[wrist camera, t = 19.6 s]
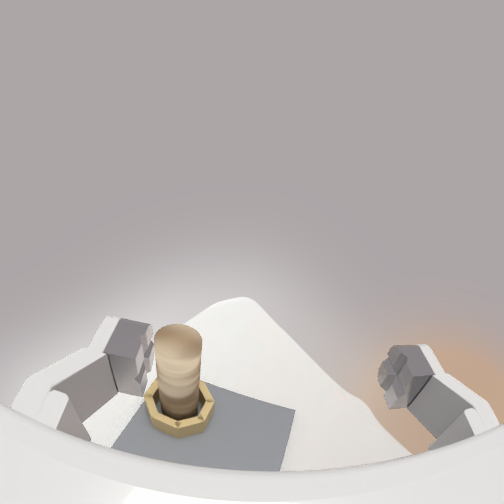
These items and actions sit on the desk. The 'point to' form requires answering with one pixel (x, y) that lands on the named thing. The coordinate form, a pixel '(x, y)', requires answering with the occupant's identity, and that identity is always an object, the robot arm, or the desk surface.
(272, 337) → the desk surface
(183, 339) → the ash peg
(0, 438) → the robot arm
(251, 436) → the socket board
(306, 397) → the desk surface
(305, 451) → the desk surface
